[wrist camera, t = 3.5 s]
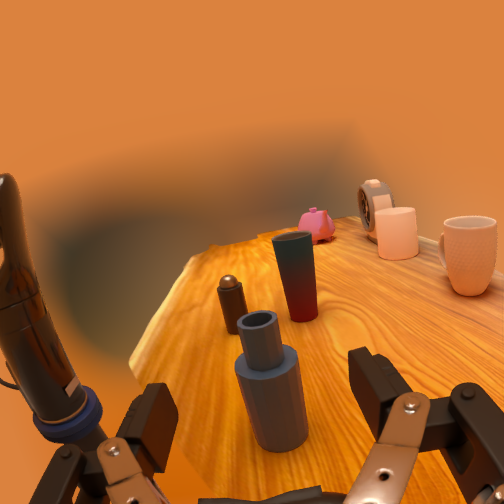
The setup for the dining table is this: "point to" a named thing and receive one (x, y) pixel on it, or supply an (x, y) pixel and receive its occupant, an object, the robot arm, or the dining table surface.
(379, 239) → the cup
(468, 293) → the mug
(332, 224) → the teapot
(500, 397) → the dining table surface
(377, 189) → the alarm clock
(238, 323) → the bottle
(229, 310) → the pepper mill
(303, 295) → the cup
